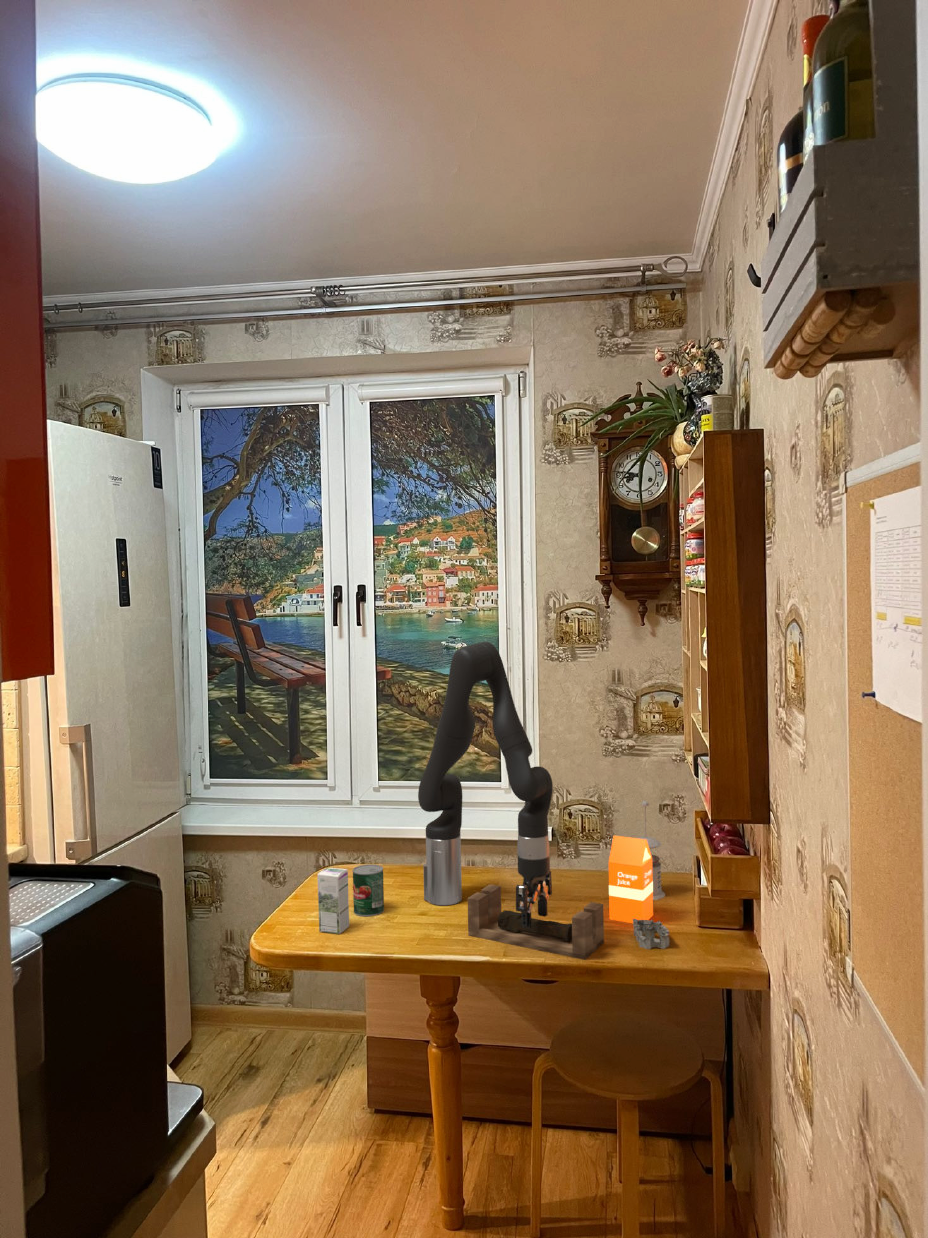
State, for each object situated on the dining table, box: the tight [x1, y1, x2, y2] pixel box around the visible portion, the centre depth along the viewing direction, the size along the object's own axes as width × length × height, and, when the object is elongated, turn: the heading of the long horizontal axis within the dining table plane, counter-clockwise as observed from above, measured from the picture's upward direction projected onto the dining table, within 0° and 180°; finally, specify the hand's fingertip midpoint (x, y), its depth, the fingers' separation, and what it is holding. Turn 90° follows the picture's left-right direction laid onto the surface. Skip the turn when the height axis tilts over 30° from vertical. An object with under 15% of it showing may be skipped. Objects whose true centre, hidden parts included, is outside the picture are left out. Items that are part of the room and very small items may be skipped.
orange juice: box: [608, 835, 654, 924], centre depth 223 cm, size 8×9×20 cm
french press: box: [637, 800, 666, 901], centre depth 239 cm, size 10×12×25 cm
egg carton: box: [632, 918, 670, 950], centre depth 209 cm, size 11×8×4 cm
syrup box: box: [316, 867, 350, 935], centre depth 220 cm, size 6×6×14 cm
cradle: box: [467, 884, 605, 961], centre depth 211 cm, size 30×11×9 cm, turn 59°
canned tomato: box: [352, 863, 385, 918], centre depth 232 cm, size 8×8×11 cm
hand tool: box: [498, 910, 572, 943], centre depth 211 cm, size 19×4×5 cm, turn 59°
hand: (534, 921), depth 211 cm, fingers open, 8 cm apart
